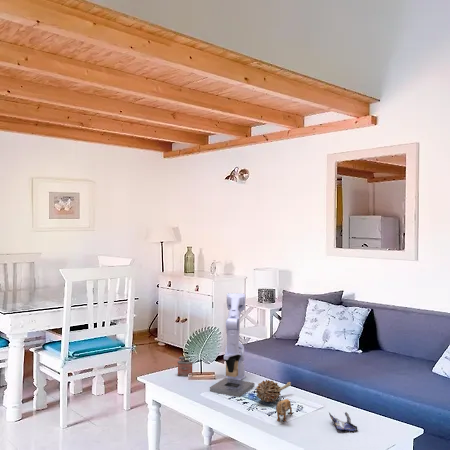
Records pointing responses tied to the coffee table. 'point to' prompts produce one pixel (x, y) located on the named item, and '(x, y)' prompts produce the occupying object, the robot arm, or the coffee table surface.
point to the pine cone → (269, 390)
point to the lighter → (184, 367)
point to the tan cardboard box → (235, 371)
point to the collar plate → (232, 387)
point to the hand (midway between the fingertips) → (232, 371)
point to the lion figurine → (283, 409)
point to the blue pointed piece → (344, 424)
